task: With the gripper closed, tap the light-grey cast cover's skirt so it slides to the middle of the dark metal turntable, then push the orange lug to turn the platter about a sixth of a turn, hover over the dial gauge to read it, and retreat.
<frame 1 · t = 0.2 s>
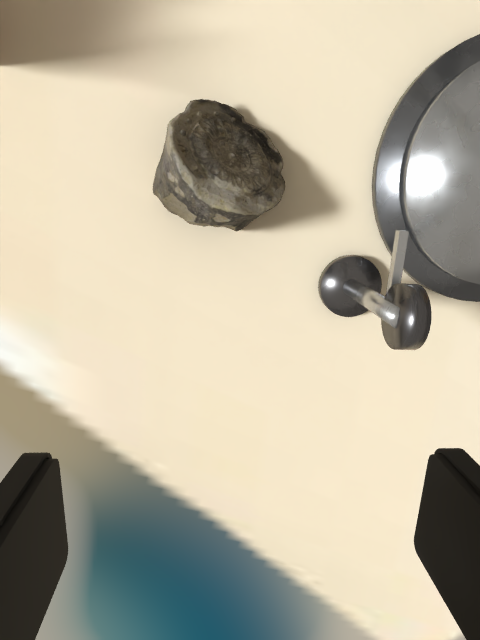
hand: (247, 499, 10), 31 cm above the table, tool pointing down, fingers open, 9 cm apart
fossil: (221, 171, 38), on the table
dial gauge: (348, 285, 41), on the table
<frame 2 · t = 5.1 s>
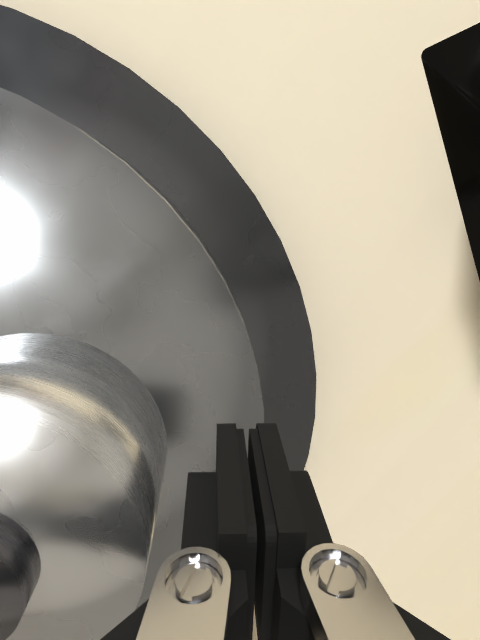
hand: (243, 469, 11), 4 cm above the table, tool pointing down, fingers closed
cover: (46, 446, 12), point 3 cm above the table, touching gripper, platter
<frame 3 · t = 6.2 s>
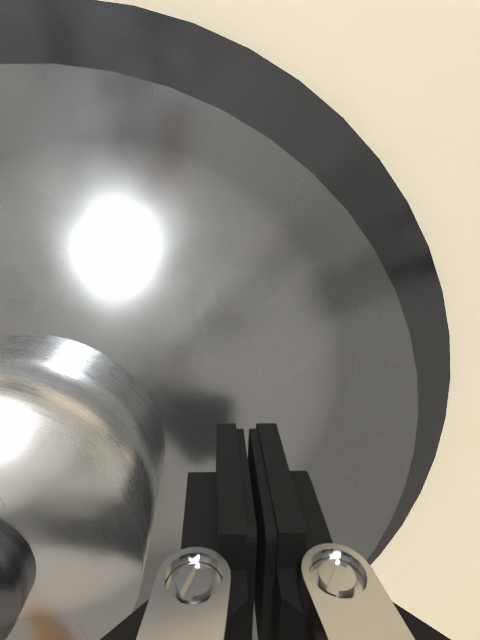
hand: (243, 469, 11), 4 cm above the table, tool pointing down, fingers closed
cover: (43, 448, 12), point 3 cm above the table, touching gripper, platter
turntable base: (107, 405, 15), on the table
platter: (62, 491, 10), point 5 cm above the table, hinge at -0.2°, touching cover
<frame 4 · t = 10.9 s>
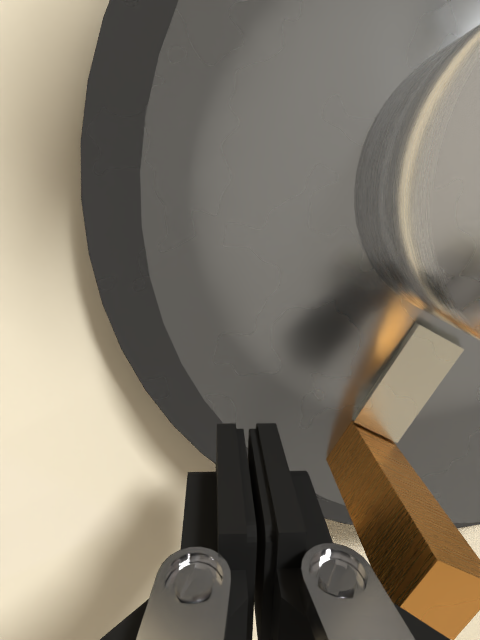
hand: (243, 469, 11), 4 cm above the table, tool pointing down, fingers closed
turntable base: (461, 211, 14), on the table
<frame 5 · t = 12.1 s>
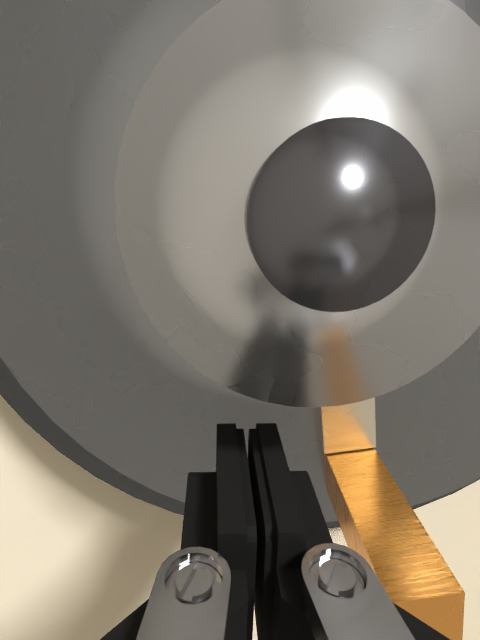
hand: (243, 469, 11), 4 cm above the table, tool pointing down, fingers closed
cover: (288, 211, 11), point 3 cm above the table, touching platter
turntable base: (313, 206, 13), on the table
platter: (358, 210, 9), point 5 cm above the table, hinge at 38.5°, touching cover, gripper
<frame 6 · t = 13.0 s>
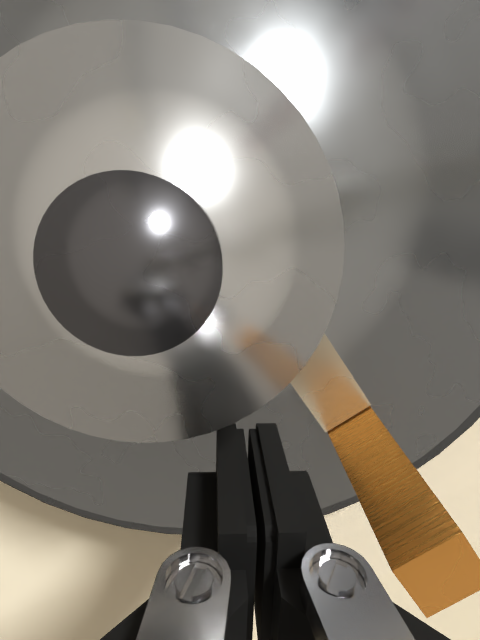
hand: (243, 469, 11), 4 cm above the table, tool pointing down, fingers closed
cover: (167, 239, 11), point 3 cm above the table, touching platter
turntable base: (211, 210, 13), on the table
platter: (207, 216, 9), point 5 cm above the table, hinge at 65.6°, touching cover
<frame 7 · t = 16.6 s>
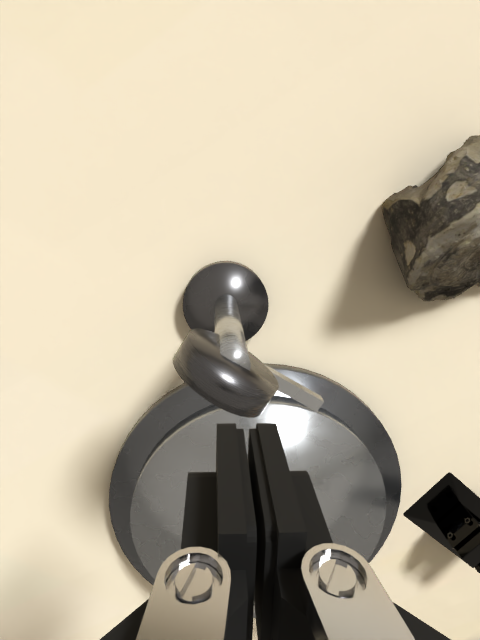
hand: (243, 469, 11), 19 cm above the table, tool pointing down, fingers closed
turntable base: (256, 495, 35), on the table
platter: (263, 538, 30), point 5 cm above the table, hinge at 76.4°, touching cover
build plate: (455, 515, 37), on the table
fossil: (446, 228, 30), on the table
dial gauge: (225, 302, 30), on the table
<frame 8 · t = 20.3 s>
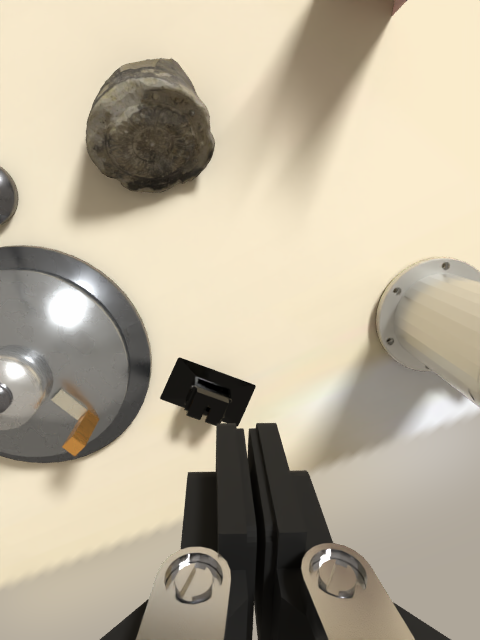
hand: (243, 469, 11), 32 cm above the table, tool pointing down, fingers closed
cover: (17, 377, 41), point 3 cm above the table, touching platter
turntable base: (37, 359, 44), on the table
platter: (17, 377, 39), point 5 cm above the table, hinge at 76.4°, touching cover
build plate: (208, 389, 47), on the table
fossil: (155, 137, 39), on the table
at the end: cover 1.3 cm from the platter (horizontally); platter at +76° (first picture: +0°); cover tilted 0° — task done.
